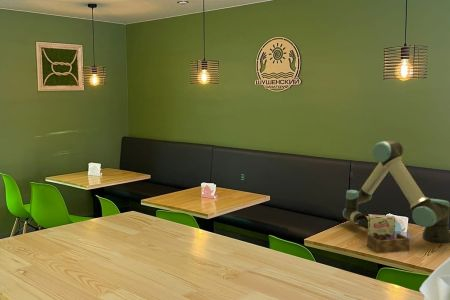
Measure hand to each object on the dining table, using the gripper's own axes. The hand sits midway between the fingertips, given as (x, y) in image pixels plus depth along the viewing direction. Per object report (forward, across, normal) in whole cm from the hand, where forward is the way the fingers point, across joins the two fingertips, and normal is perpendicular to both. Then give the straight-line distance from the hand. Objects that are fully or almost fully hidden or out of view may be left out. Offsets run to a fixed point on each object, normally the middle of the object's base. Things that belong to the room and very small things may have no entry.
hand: (379, 230), depth 256 cm
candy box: (+4, +1, -7) cm, 8 cm away
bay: (+9, 0, -7) cm, 11 cm away
